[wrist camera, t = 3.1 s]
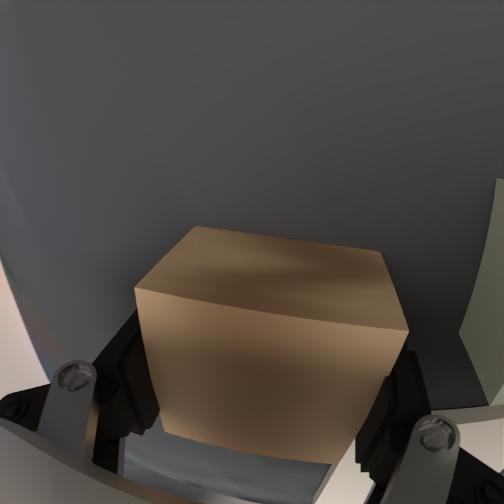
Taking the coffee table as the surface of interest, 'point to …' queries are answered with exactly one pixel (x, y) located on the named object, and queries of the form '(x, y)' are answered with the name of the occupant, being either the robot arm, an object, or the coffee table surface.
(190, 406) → the oak block
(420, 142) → the coffee table surface
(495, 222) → the sage block
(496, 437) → the baseplate
